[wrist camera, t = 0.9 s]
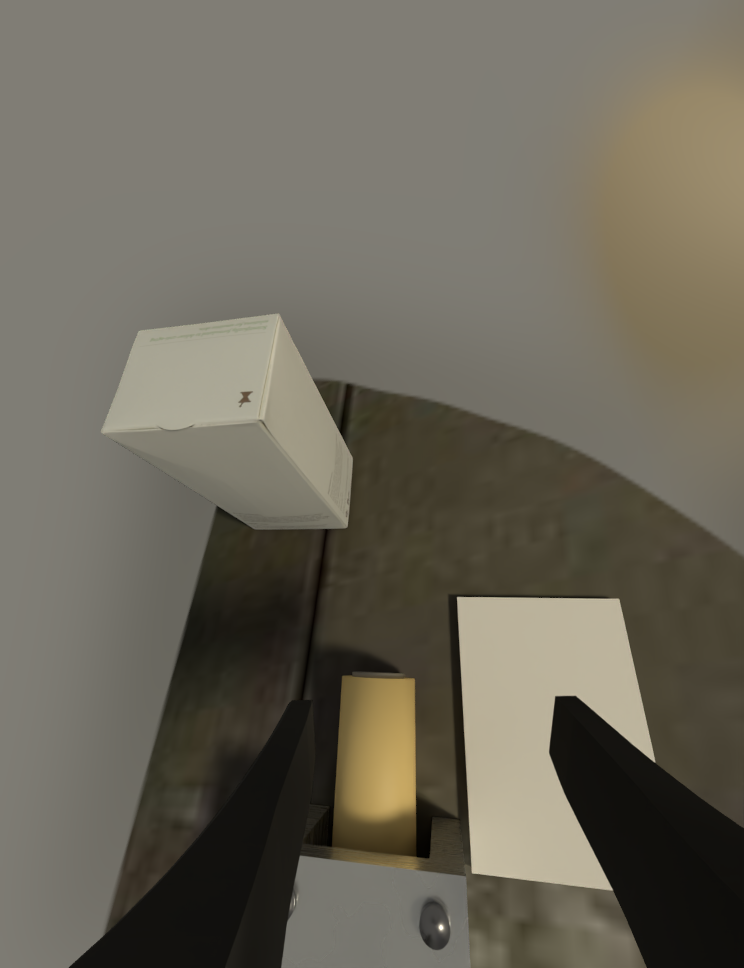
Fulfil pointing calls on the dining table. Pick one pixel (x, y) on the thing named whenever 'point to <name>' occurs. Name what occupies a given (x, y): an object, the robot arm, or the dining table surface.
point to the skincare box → (235, 422)
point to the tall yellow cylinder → (376, 765)
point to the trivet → (537, 726)
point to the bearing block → (378, 904)
